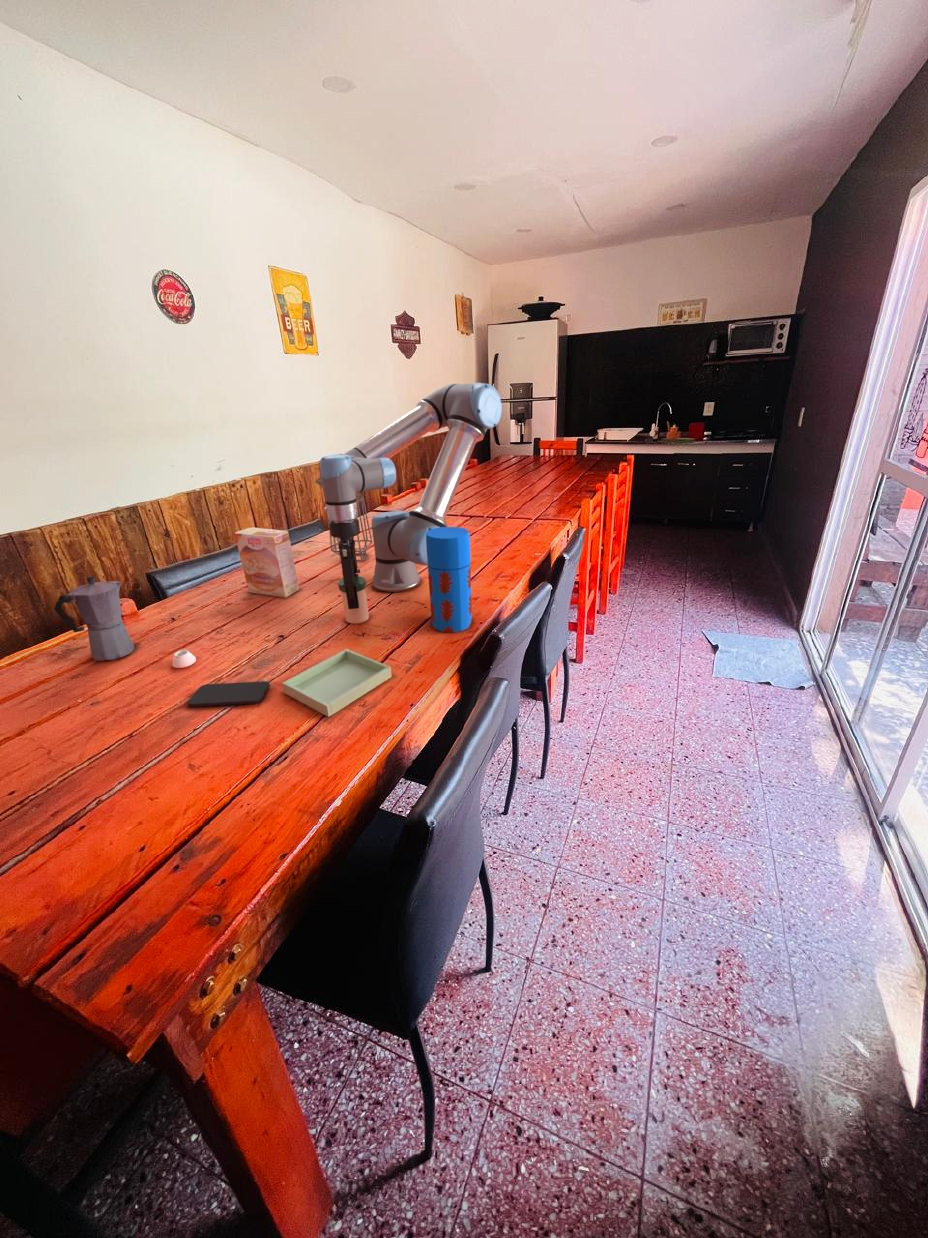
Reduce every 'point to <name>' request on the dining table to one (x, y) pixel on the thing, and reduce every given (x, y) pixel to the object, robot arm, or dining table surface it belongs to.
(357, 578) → the jar lid
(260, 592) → the coffeecake box
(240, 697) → the phone
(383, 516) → the robot arm
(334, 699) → the tray
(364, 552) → the geometric lantern
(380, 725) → the dining table surface
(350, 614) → the jar
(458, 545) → the thermos
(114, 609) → the moka pot
